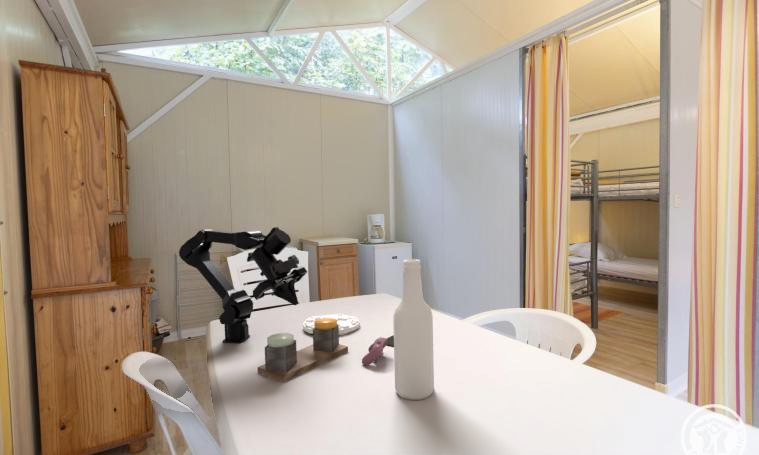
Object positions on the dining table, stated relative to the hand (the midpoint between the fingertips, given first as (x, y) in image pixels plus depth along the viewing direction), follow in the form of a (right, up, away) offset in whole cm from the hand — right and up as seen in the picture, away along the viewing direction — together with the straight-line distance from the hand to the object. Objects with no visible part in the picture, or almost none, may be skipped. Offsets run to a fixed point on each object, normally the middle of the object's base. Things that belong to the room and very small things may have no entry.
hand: (296, 304), depth 116 cm
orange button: (+9, -12, -4) cm, 15 cm away
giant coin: (+8, -13, +20) cm, 25 cm away
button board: (+5, -14, -10) cm, 18 cm away
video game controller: (+24, -13, -10) cm, 29 cm away
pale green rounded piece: (0, -12, -17) cm, 21 cm away
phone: (+32, -13, +6) cm, 35 cm away
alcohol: (+33, -14, -29) cm, 46 cm away
